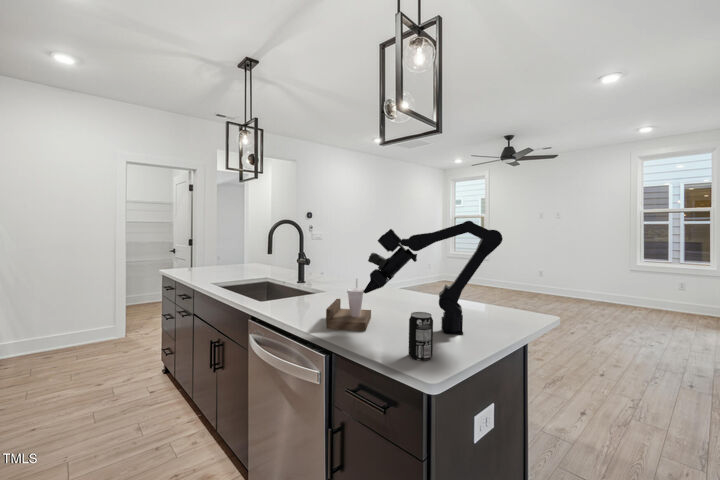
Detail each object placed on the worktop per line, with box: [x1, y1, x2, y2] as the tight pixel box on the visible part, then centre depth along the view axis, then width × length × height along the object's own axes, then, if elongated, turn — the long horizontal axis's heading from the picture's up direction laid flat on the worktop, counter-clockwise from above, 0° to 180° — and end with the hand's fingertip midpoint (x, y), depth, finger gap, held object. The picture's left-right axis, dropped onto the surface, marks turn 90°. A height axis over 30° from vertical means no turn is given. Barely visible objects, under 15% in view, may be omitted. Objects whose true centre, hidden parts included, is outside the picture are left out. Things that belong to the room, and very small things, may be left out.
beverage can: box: [408, 311, 434, 361], centre depth 93 cm, size 7×7×12 cm
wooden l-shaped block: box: [325, 298, 372, 332], centre depth 126 cm, size 14×18×7 cm
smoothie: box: [346, 278, 365, 317], centre depth 124 cm, size 6×6×14 cm
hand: (367, 290), depth 124 cm, fingers open, 9 cm apart
